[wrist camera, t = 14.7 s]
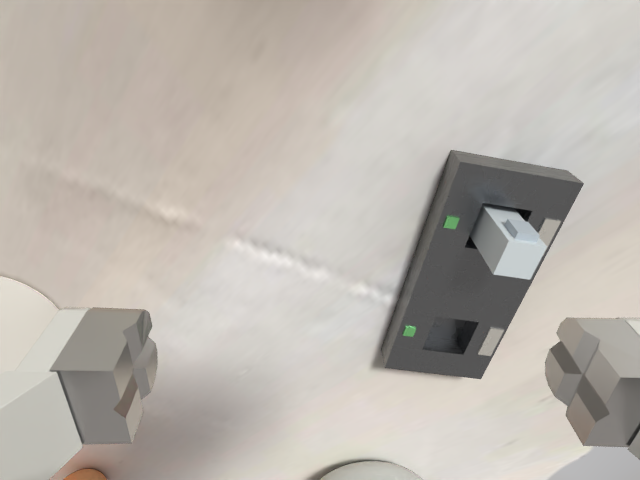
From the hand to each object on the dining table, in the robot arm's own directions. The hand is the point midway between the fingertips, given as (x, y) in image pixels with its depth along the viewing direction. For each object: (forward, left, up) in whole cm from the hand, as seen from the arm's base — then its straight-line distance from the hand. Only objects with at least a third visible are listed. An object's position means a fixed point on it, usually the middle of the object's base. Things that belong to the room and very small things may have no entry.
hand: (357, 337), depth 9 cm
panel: (-19, -20, -34) cm, 44 cm away
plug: (-12, -20, -34) cm, 41 cm away
